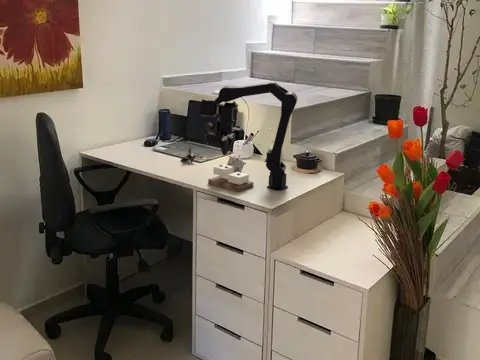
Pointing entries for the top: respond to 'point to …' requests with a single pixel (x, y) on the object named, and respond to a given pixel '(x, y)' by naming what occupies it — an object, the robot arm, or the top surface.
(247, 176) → the tile one
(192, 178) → the top surface
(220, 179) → the brown flat slab
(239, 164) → the game die
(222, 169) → the tile two
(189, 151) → the eagle figurine
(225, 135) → the robot arm
